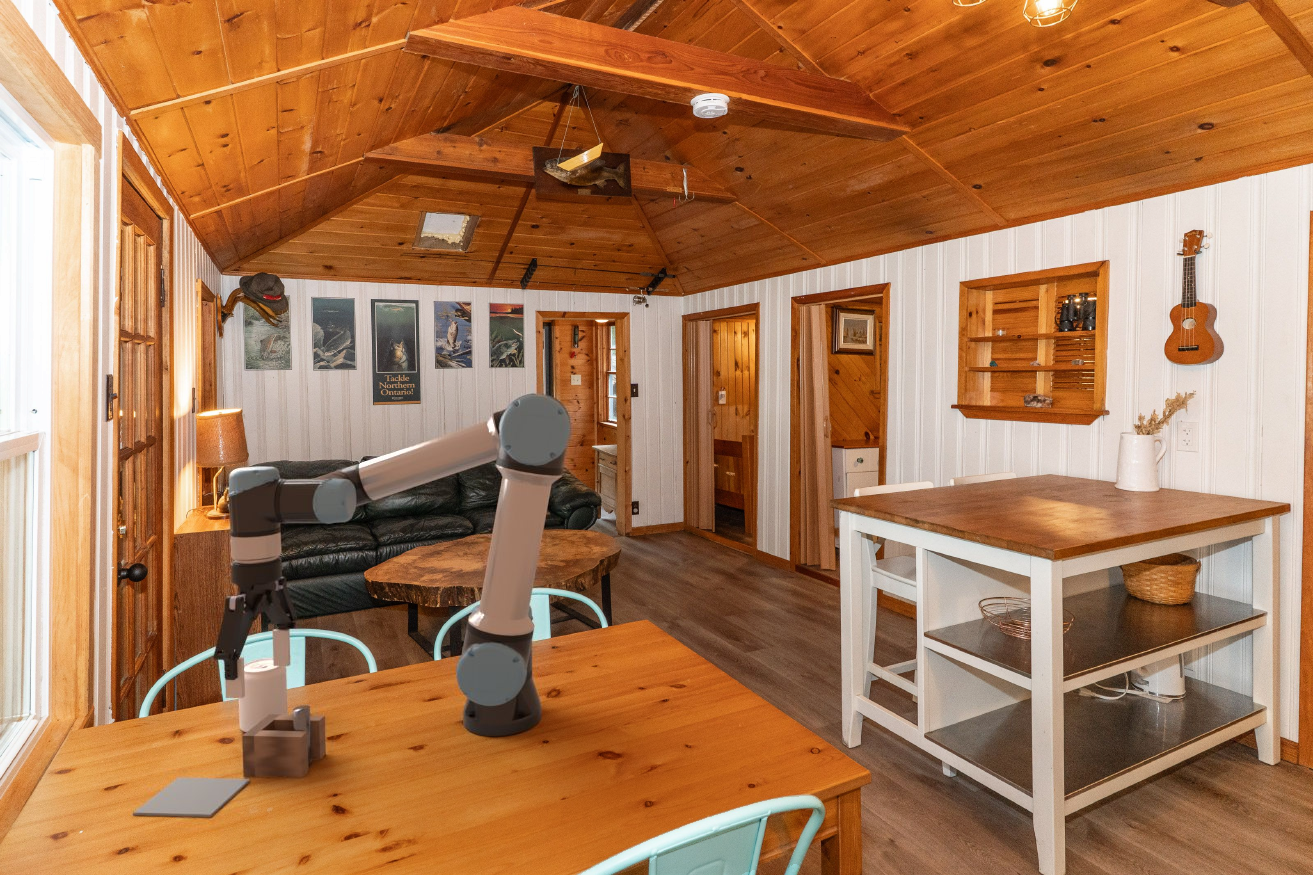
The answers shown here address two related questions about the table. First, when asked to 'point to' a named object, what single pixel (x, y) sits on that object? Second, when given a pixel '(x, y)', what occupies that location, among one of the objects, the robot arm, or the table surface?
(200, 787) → the mat
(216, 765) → the table surface
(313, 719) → the c link
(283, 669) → the beverage can
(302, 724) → the post
